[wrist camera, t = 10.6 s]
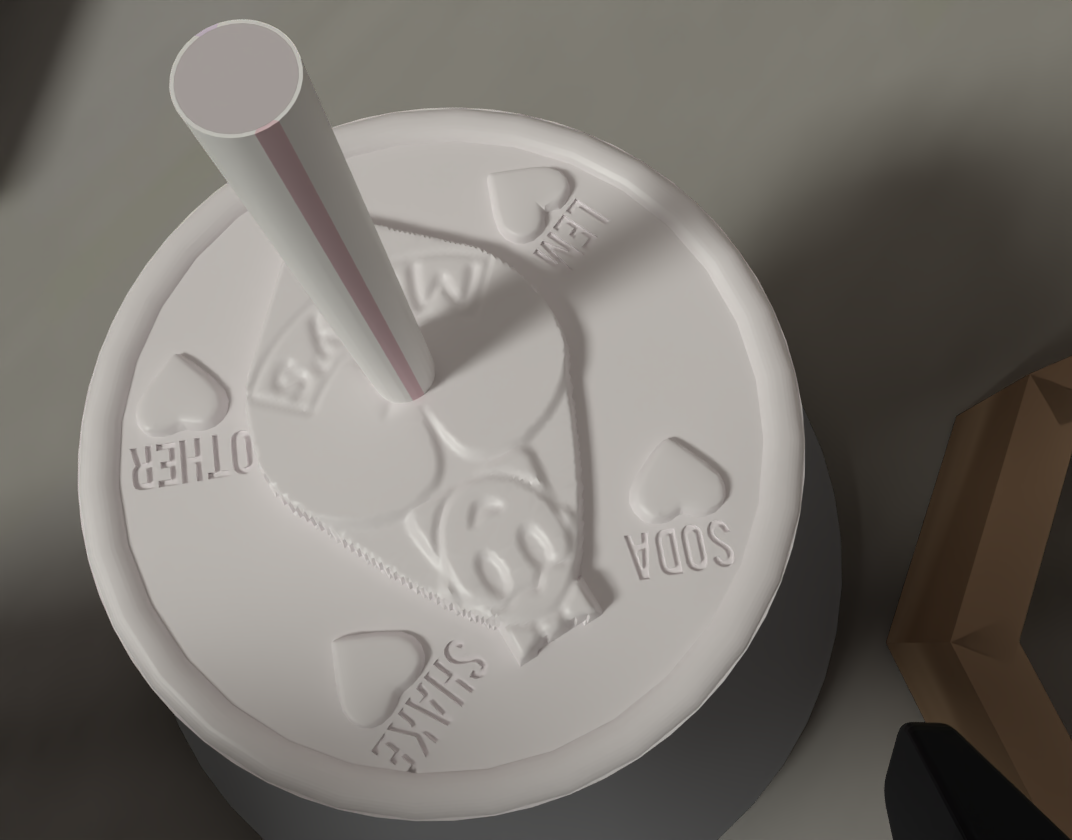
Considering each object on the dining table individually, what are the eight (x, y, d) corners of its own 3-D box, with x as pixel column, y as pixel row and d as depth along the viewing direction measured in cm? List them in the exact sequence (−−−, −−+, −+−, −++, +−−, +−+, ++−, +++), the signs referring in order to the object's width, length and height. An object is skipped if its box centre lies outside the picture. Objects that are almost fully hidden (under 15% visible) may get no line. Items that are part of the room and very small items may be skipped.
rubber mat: (294, 1032, 16) (277, 1056, 15) (90, 382, 19) (65, 368, 18) (948, 732, 17) (971, 737, 16) (657, 156, 20) (661, 131, 19)
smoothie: (557, 323, 18) (555, -611, 5) (744, 602, 17) (1499, 431, 3) (272, 492, 18) (-689, -21, 4) (442, 799, 16) (-152, 1588, 3)
